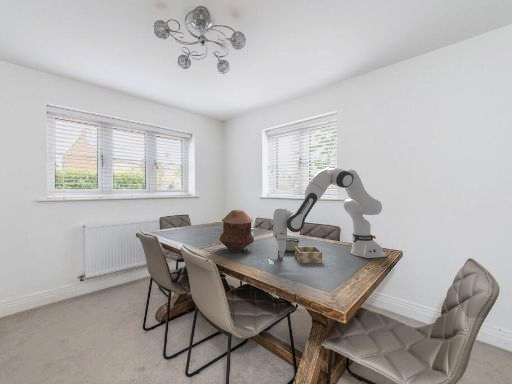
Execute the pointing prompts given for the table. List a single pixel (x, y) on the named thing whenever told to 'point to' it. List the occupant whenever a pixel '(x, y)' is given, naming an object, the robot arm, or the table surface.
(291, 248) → the food container
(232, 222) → the pottery vessel
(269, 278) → the table surface
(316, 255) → the box
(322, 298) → the table surface
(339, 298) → the table surface
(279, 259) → the lid
